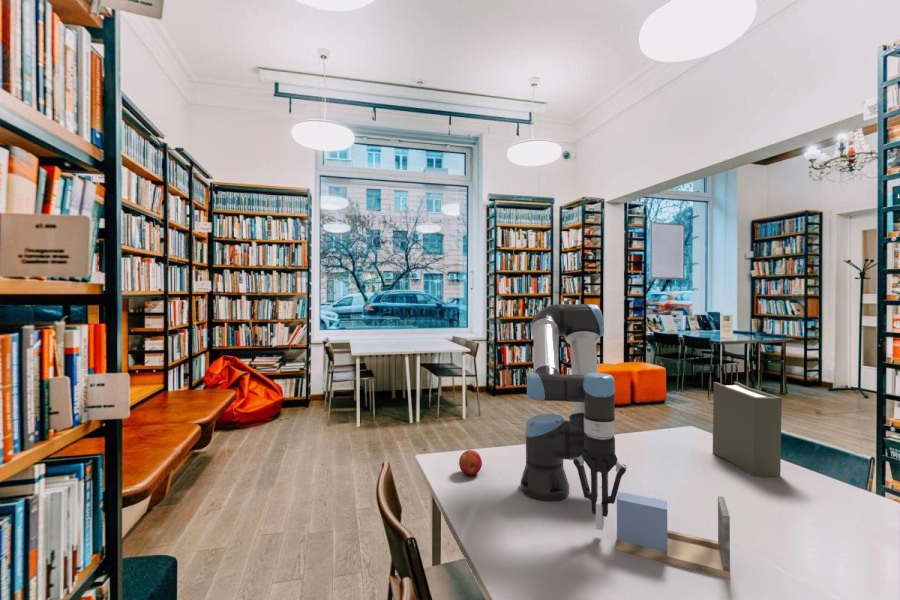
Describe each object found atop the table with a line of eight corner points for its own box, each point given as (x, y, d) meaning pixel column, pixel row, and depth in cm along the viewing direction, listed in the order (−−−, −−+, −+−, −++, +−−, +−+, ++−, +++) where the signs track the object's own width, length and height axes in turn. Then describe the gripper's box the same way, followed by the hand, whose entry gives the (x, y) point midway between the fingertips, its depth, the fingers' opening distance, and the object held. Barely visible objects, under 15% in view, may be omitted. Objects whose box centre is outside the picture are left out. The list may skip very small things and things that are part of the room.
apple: (483, 470, 147) (482, 447, 146) (480, 480, 138) (480, 456, 138) (460, 468, 148) (460, 446, 148) (457, 478, 140) (457, 455, 140)
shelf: (616, 549, 100) (615, 494, 100) (620, 528, 109) (619, 478, 109) (730, 578, 89) (729, 516, 89) (724, 553, 98) (723, 496, 98)
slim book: (616, 539, 101) (616, 499, 101) (618, 530, 105) (618, 491, 105) (667, 552, 96) (667, 509, 96) (667, 542, 100) (667, 501, 100)
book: (782, 478, 139) (783, 396, 138) (755, 479, 139) (756, 396, 138) (736, 452, 161) (737, 381, 160) (712, 453, 160) (713, 382, 159)
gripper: (570, 435, 105) (570, 528, 105) (625, 443, 99) (626, 541, 99) (576, 427, 111) (576, 514, 111) (628, 434, 105) (629, 526, 105)
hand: (599, 527), depth 105 cm, fingers closed
